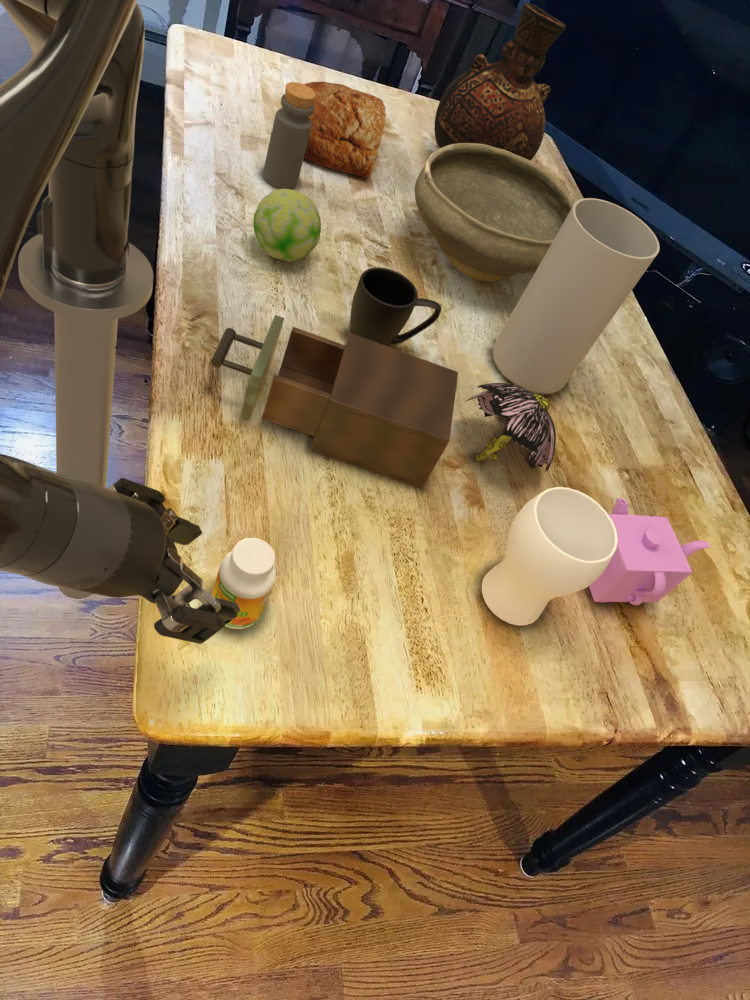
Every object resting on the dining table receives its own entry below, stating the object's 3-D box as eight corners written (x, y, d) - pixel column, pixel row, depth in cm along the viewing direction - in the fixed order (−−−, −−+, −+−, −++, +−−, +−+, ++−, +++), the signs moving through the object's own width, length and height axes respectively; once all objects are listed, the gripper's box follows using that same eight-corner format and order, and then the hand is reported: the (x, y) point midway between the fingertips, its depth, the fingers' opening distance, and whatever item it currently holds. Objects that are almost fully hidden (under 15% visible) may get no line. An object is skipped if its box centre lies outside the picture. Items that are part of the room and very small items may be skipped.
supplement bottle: (199, 616, 75) (214, 564, 68) (223, 575, 78) (239, 521, 71) (249, 639, 75) (269, 590, 68) (270, 597, 79) (291, 546, 71)
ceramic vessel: (421, 181, 141) (489, 9, 119) (416, 135, 152) (477, -32, 129) (523, 212, 147) (606, 52, 124) (511, 164, 157) (585, 9, 135)
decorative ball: (261, 276, 110) (275, 216, 102) (238, 233, 114) (250, 172, 107) (322, 275, 114) (340, 217, 107) (298, 233, 119) (314, 175, 111)
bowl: (513, 221, 143) (549, 151, 132) (569, 321, 128) (615, 252, 118) (377, 201, 132) (404, 124, 121) (421, 308, 117) (456, 230, 107)
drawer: (198, 403, 90) (207, 358, 85) (225, 344, 98) (234, 299, 92) (346, 453, 93) (363, 413, 87) (361, 392, 100) (378, 352, 95)
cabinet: (310, 450, 92) (329, 399, 86) (330, 383, 101) (349, 332, 94) (421, 488, 94) (449, 441, 88) (432, 419, 103) (458, 371, 96)
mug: (419, 373, 108) (444, 322, 100) (338, 350, 105) (358, 296, 98) (420, 337, 113) (444, 285, 106) (343, 313, 110) (362, 259, 103)
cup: (544, 563, 93) (609, 490, 82) (560, 642, 87) (634, 574, 76) (464, 552, 90) (521, 474, 79) (475, 632, 84) (539, 560, 73)
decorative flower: (606, 439, 96) (523, 405, 88) (552, 508, 101) (468, 482, 93) (550, 381, 106) (471, 346, 98) (503, 447, 111) (424, 418, 103)
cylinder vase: (478, 337, 117) (557, 193, 99) (544, 339, 122) (631, 203, 104) (509, 396, 111) (599, 254, 92) (577, 396, 116) (676, 262, 97)
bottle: (260, 182, 124) (279, 92, 113) (264, 164, 128) (284, 75, 117) (295, 193, 125) (317, 105, 114) (298, 175, 129) (321, 88, 118)
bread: (368, 185, 134) (386, 131, 127) (267, 152, 130) (280, 94, 123) (373, 131, 147) (390, 79, 140) (281, 99, 143) (293, 44, 136)
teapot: (647, 533, 102) (692, 490, 95) (685, 620, 95) (737, 581, 88) (531, 528, 96) (570, 481, 89) (563, 621, 89) (608, 578, 81)
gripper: (161, 589, 50) (278, 616, 65) (90, 430, 56) (212, 488, 71) (77, 652, 51) (211, 664, 66) (16, 490, 57) (151, 535, 72)
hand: (211, 573), depth 68 cm, fingers open, 8 cm apart
